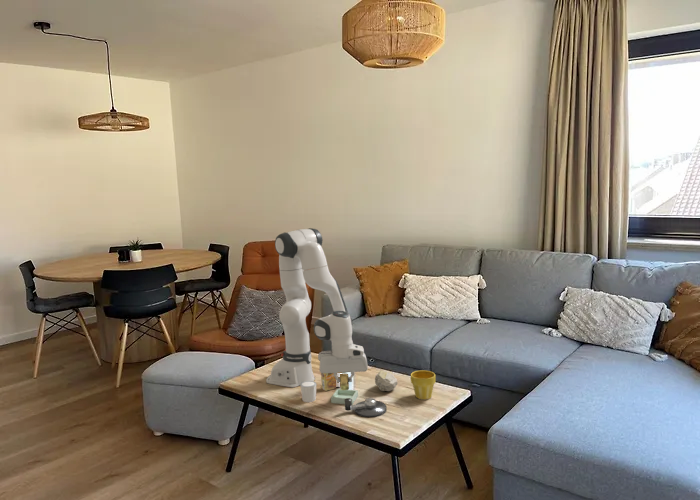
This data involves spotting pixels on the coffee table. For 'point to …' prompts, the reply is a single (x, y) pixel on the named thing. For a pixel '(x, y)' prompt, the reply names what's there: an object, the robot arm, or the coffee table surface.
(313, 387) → the white cylinder
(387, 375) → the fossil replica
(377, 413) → the base
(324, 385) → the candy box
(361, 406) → the crank
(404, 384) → the coffee table surface
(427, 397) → the plant pot
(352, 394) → the tray
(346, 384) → the pin
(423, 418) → the coffee table surface
